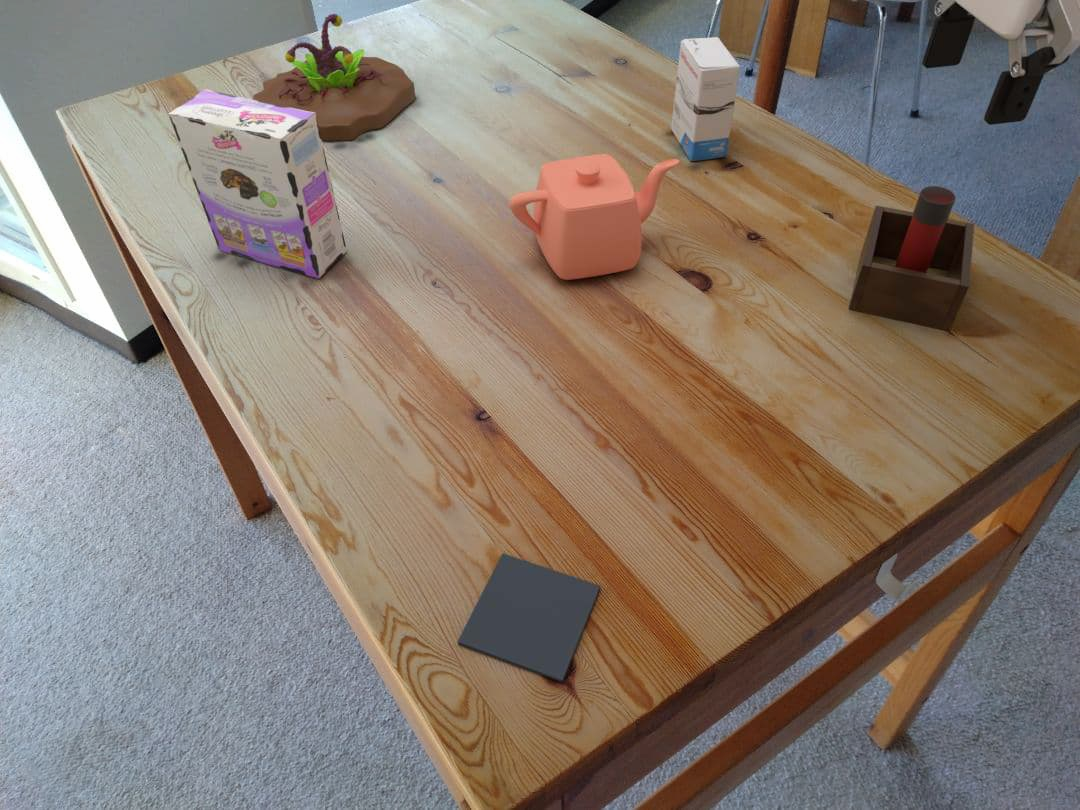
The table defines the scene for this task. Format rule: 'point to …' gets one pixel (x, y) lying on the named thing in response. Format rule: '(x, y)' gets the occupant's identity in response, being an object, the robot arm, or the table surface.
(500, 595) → the desk pad
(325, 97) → the plant
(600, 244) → the teapot
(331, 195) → the candy box
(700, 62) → the ink box
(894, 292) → the wooden box
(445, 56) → the table surface
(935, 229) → the marker pen
